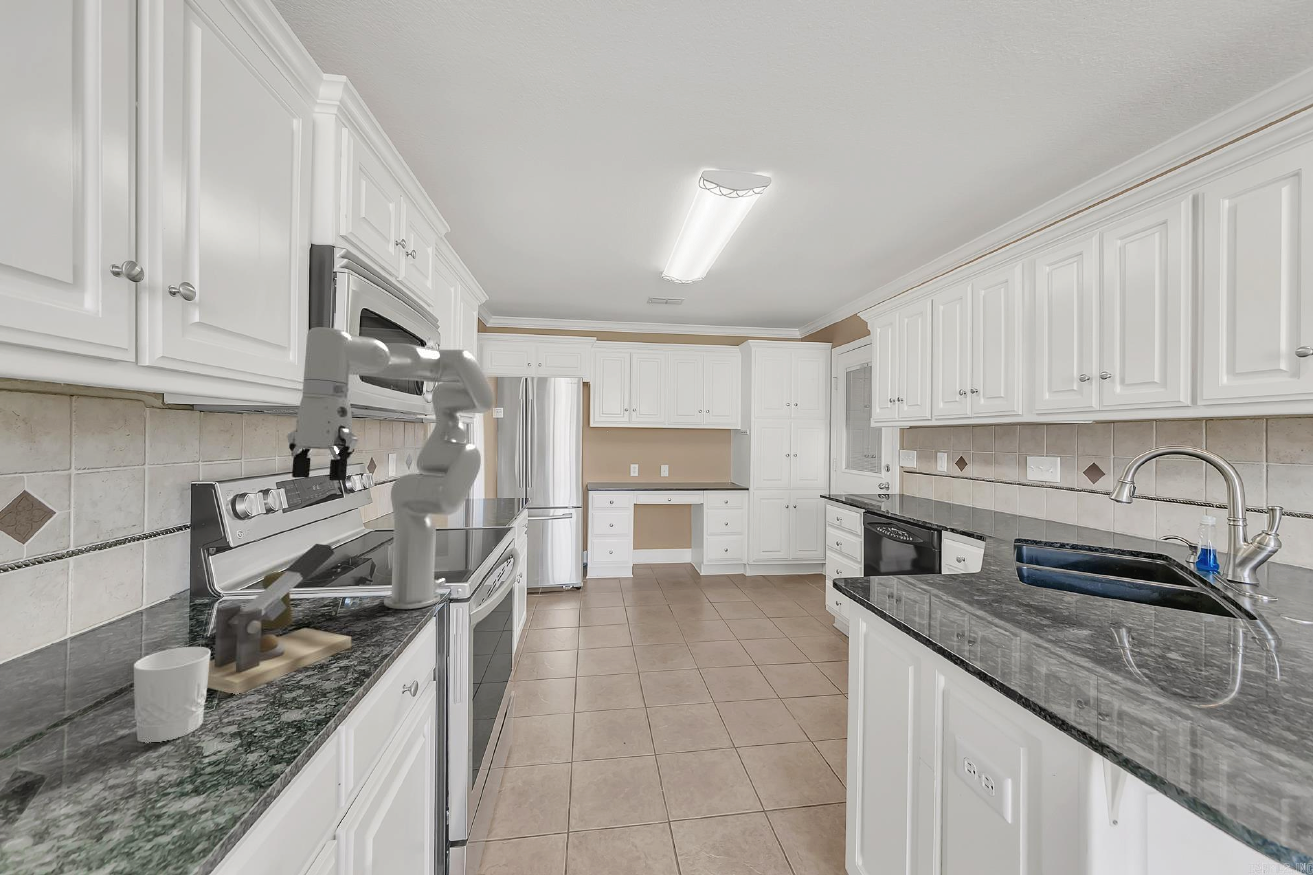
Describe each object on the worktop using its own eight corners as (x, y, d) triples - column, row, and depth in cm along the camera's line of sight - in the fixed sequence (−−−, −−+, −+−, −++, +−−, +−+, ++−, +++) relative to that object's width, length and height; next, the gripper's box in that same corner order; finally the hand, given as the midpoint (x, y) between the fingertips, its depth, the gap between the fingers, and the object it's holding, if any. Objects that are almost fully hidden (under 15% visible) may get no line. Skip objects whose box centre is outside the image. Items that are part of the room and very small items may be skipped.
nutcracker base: (304, 637, 107) (307, 580, 107) (350, 647, 104) (353, 587, 104) (184, 681, 87) (187, 611, 87) (236, 694, 84) (239, 621, 84)
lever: (325, 558, 106) (316, 543, 104) (339, 560, 105) (330, 545, 103) (237, 636, 91) (225, 620, 89) (253, 639, 90) (240, 623, 88)
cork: (274, 630, 110) (277, 577, 110) (250, 627, 112) (252, 575, 112) (299, 621, 116) (301, 570, 116) (276, 618, 118) (278, 568, 118)
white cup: (128, 729, 73) (131, 656, 73) (203, 709, 79) (205, 642, 79) (132, 753, 68) (136, 675, 68) (212, 730, 74) (215, 658, 74)
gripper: (375, 394, 106) (368, 481, 105) (311, 394, 111) (304, 476, 111) (342, 389, 99) (334, 481, 98) (275, 388, 104) (267, 476, 104)
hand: (318, 478), depth 104 cm, fingers open, 9 cm apart
